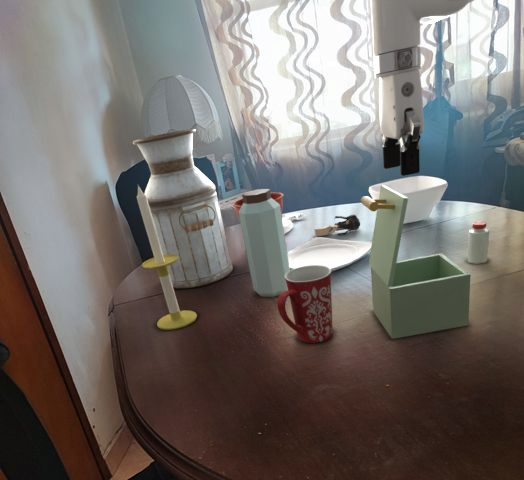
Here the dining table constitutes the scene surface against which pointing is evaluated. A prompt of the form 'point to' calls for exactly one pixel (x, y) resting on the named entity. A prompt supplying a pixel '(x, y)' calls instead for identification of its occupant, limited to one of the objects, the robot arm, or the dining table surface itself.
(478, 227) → the spice bottle
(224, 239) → the milk can
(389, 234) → the lid
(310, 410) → the dining table surface
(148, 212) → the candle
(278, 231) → the water bottle
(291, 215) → the spray bottle
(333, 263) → the plate
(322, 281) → the mug
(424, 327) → the chest
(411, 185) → the bowl
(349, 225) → the toy figure
